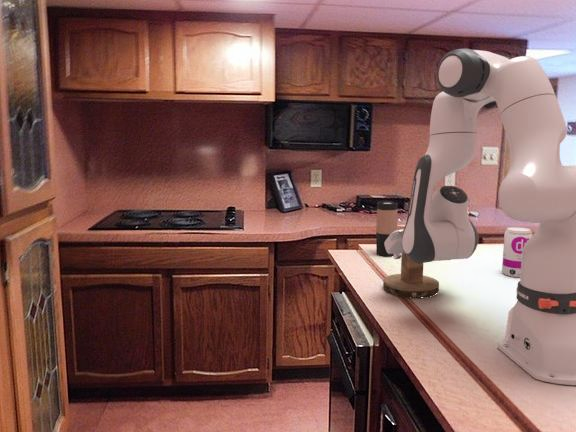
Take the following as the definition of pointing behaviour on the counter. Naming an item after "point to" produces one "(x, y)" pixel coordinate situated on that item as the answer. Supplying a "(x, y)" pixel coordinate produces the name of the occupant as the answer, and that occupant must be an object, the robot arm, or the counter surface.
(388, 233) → the travel mug
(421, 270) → the walnut block
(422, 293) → the wood slice
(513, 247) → the supplement can
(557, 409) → the counter surface
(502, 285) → the counter surface
